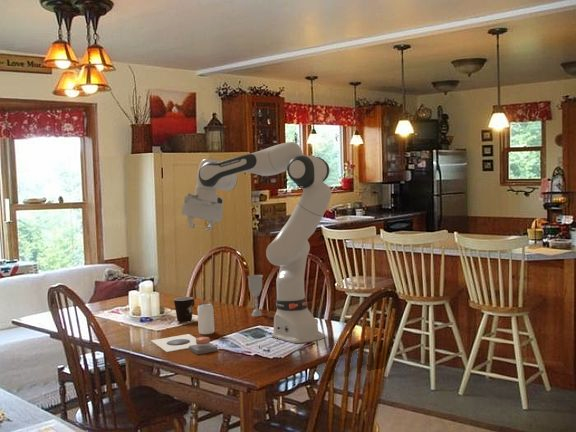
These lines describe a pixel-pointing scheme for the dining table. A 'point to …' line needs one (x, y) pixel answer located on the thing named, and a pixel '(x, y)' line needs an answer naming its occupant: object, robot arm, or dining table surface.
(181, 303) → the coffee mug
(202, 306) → the can
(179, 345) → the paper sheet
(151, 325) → the dining table surface
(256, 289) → the chalice
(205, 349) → the button base
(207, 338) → the button
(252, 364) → the dining table surface
